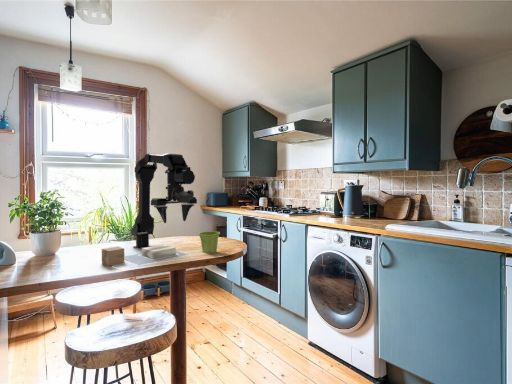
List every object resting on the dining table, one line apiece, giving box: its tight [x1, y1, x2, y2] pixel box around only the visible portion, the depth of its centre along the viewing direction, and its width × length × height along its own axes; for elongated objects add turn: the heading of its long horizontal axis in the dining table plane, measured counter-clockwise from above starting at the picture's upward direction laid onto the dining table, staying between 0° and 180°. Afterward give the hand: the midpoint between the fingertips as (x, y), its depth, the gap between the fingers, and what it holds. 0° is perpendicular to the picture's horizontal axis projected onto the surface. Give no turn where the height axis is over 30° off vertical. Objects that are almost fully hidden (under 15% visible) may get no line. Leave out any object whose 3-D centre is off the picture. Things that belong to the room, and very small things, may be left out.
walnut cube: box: [101, 246, 125, 268], centre depth 118 cm, size 6×6×6 cm
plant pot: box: [198, 230, 221, 254], centre depth 137 cm, size 9×9×9 cm
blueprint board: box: [124, 250, 189, 265], centre depth 129 cm, size 17×22×1 cm
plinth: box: [141, 244, 177, 259], centre depth 130 cm, size 10×10×3 cm
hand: (175, 221), depth 128 cm, fingers open, 9 cm apart
